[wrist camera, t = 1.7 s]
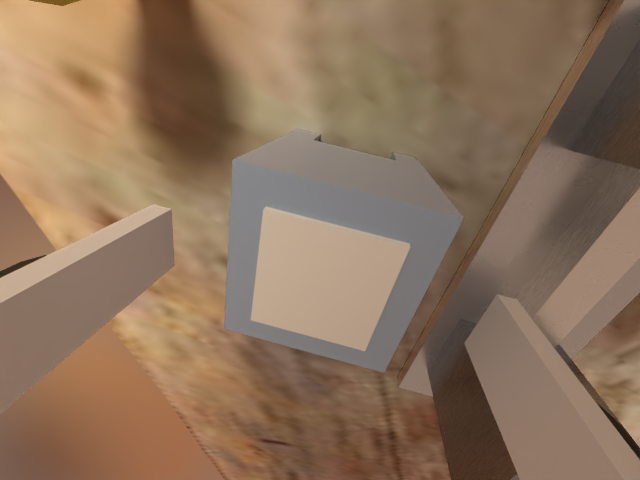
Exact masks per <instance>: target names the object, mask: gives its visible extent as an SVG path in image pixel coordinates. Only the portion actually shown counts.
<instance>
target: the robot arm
mask: <svg viewBox="0 0 640 480" xmlns="http://www.w3.org/2000/svg"><path fill="white" fill-rule="evenodd" d="M173 266H174V248H173V229H172V210H171V209H169V208H166V207H162V206H158V205H154V204H153V205H151V206H149V207H147V208H145V209H142V210H140V211H138V212H136V213H134V214H132V215H130V216H128V217H126V218H124V219H122V220H120V221H118V222H115V223H113V224H111V225H109V226H107V227H105V228H103V229H101V230H99V231H97V232H95V233H93V234H91V235H88V236H86V237H84V238H82V239H80V240H78V241H76V242H74V243H72V244H70V245H68V246H66V247H63V248H61V249H59V250H57V251H55V252H53V253H51V254H49V255H44V256H41V257H37V258H33V259H30V260H26V261H22V262H20V263H18V264H16V265H13V266H11V267H9V268H7V269H5V270H2V271H0V414H1V413H2V412H3V411H4V410H5V409H7V408H8V407H9V406H10V405H11V404H13V403H14V402H15V401H16V400H17V399H18V398H20V397H21V396H22V395H23V394H24V393H25V392H26V391H28V390H29V389H30V388H31V387H32V386H34V385H35V384H36V383H37V382H38V381H39V380H41V379H42V378H43V377H44V376H45V375H46V374H48V373H49V372H50V371H51V370H52V369H54V368H55V367H56V366H57V365H58V364H59V363H61V362H62V361H63V360H64V359H65V358H66V357H68V356H69V355H70V354H71V353H72V352H73V351H75V350H76V349H77V348H78V347H79V346H80V345H82V344H83V343H84V342H85V341H86V340H87V339H89V338H90V337H91V336H92V335H93V334H95V333H96V332H97V331H98V330H99V329H100V328H102V327H103V326H104V325H105V324H106V323H107V322H109V321H110V320H111V319H112V318H113V317H115V316H116V315H117V314H118V313H119V312H120V311H122V310H123V309H124V308H125V307H126V306H127V305H129V304H130V303H131V302H132V301H133V300H134V299H136V298H137V297H138V296H139V295H140V294H141V293H143V292H144V291H145V290H146V289H147V288H149V287H150V286H151V285H152V284H153V283H154V282H156V281H157V280H158V279H159V278H160V277H161V276H163V275H164V274H165V273H166V272H167V271H168V270H170V269H171V268H172V267H173ZM464 344H465V346H466V349H467V351H468V354H469V356H470V359H471V361H472V364H473V366H474V368H475V371H476V373H477V376H478V378H479V381H480V383H481V386H482V388H483V391H484V393H485V395H486V398H487V400H488V403H489V405H490V408H491V410H492V413H493V415H494V418H495V420H496V422H497V425H498V427H499V430H500V432H501V435H502V437H503V440H504V442H505V445H506V447H507V449H508V452H509V454H510V457H511V459H512V462H513V464H514V467H515V469H516V472H517V474H518V476H519V479H520V480H640V448H639V447H638V446H637V444H636V443H635V442H634V440H633V439H632V438H631V437H630V435H629V434H628V433H627V432H626V430H625V429H624V428H623V427H622V425H621V424H619V423H618V422H617V421H616V420H615V419H614V418H613V417H612V416H611V415H610V414H609V413H608V412H607V411H606V410H605V409H604V408H602V407H601V406H600V405H599V404H597V403H596V402H595V401H594V399H593V398H592V397H591V395H590V394H589V393H588V392H587V390H586V389H585V388H584V386H583V385H582V384H581V382H580V381H579V380H578V379H577V377H576V376H575V375H574V373H573V372H572V371H571V369H570V368H569V367H568V365H567V364H566V363H565V362H564V360H563V359H562V358H561V356H560V355H559V354H558V352H557V351H556V350H555V348H554V347H553V346H552V345H551V343H550V342H549V341H548V339H547V338H546V337H545V335H544V334H543V333H542V331H541V330H540V329H539V328H538V326H537V325H536V324H535V322H534V321H533V320H532V318H531V317H530V316H529V315H528V313H527V312H526V311H525V309H524V308H523V307H522V305H521V304H520V303H519V301H518V300H517V299H514V298H510V297H506V296H502V295H498V294H497V295H496V296H495V298H494V299H493V301H492V302H491V304H490V305H489V307H488V308H487V310H486V311H485V313H484V314H483V316H482V317H481V319H480V320H479V322H478V323H477V325H476V326H475V328H474V329H473V331H472V332H471V334H470V335H469V337H468V338H467V340H466V341H465V343H464Z"/></svg>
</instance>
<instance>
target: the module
mask: <svg viewBox="0 0 640 480" xmlns="http://www.w3.org/2000/svg"><path fill="white" fill-rule="evenodd" d="M319 139H320V134H317V133H313V132H309V131H305V130H301V129H296V130H294V131H292V132H290V133H288V134H286V135H283V136H281V137H279V138H277V139H275V140H273V141H271V142H269V143H267V144H265V145H262V146H260V147H258V148H256V149H254V150H252V151H250V152H248V153H246V154H243V155H241V156H239V157H237V158H235V159H233V160H232V180H231V200H230V221H229V242H228V262H227V283H226V303H225V324H224V329H225V330H229V331H233V332H236V333H240V334H244V335H247V336H251V337H255V338H258V339H262V340H265V341H269V342H273V343H276V344H280V345H284V346H287V347H291V348H295V349H298V350H302V351H306V352H309V353H313V354H317V355H320V356H324V357H327V358H331V359H335V360H338V361H342V362H346V363H349V364H353V365H357V366H360V367H364V368H368V369H371V370H375V371H378V372H382V373H384V372H385V370H386V368H387V366H388V364H389V362H390V360H391V358H392V357H393V355H394V353H395V351H396V349H397V347H398V345H399V343H400V341H401V339H402V337H403V335H404V333H405V331H406V329H407V328H408V326H409V324H410V322H411V320H412V318H413V316H414V314H415V312H416V310H417V308H418V306H419V304H420V302H421V300H422V299H423V297H424V295H425V293H426V291H427V289H428V287H429V285H430V283H431V281H432V279H433V277H434V275H435V273H436V271H437V270H438V268H439V266H440V264H441V262H442V260H443V258H444V256H445V254H446V252H447V250H448V248H449V246H450V244H451V242H452V241H453V239H454V237H455V235H456V233H457V231H458V229H459V227H460V225H461V223H462V221H463V219H464V217H463V216H462V215H461V214H460V212H459V211H458V210H457V209H456V207H455V206H454V205H453V204H452V202H451V201H450V200H449V198H448V197H447V196H446V195H445V193H444V192H443V191H442V190H441V188H440V187H439V186H438V185H437V183H436V182H435V181H434V180H433V178H432V177H431V176H430V175H429V173H428V172H427V171H426V170H425V168H424V167H423V166H422V164H421V163H420V162H419V161H418V159H417V158H415V157H411V156H407V155H403V154H398V153H394V152H393V153H392V156H391V159H388V158H384V157H380V156H376V155H372V154H368V153H364V152H360V151H356V150H352V149H348V148H344V147H340V146H336V145H332V144H327V143H323V142H319Z"/></svg>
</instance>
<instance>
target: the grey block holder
mask: <svg viewBox="0 0 640 480" xmlns="http://www.w3.org/2000/svg"><path fill="white" fill-rule="evenodd" d="M639 293H640V0H609V2H608V4H607V5H606V7H605V9H604V11H603V13H602V14H601V16H600V18H599V20H598V21H597V23H596V25H595V27H594V29H593V30H592V32H591V34H590V36H589V37H588V39H587V41H586V43H585V45H584V46H583V48H582V50H581V52H580V53H579V55H578V57H577V59H576V61H575V62H574V64H573V66H572V68H571V69H570V71H569V73H568V75H567V77H566V78H565V80H564V82H563V84H562V85H561V87H560V89H559V91H558V93H557V94H556V96H555V98H554V100H553V101H552V103H551V105H550V107H549V109H548V110H547V112H546V114H545V116H544V117H543V119H542V121H541V123H540V125H539V126H538V128H537V130H536V132H535V133H534V135H533V137H532V139H531V141H530V142H529V144H528V146H527V148H526V149H525V151H524V153H523V155H522V157H521V158H520V160H519V162H518V164H517V165H516V167H515V169H514V171H513V173H512V174H511V176H510V178H509V180H508V181H507V183H506V185H505V187H504V188H503V190H502V192H501V194H500V196H499V197H498V199H497V201H496V203H495V204H494V206H493V208H492V210H491V212H490V213H489V215H488V217H487V219H486V220H485V222H484V224H483V226H482V228H481V229H480V231H479V233H478V235H477V236H476V238H475V240H474V242H473V244H472V245H471V247H470V249H469V251H468V252H467V254H466V256H465V258H464V260H463V261H462V263H461V265H460V267H459V268H458V270H457V272H456V274H455V276H454V277H453V279H452V281H451V283H450V284H449V286H448V288H447V290H446V292H445V293H444V295H443V297H442V299H441V300H440V302H439V304H438V306H437V308H436V309H435V311H434V313H433V315H432V316H431V318H430V320H429V322H428V324H427V325H426V327H425V329H424V331H423V332H422V334H421V336H420V338H419V340H418V341H417V343H416V345H415V347H414V348H413V350H412V352H411V354H410V356H409V357H408V359H407V361H406V363H405V364H404V366H403V368H402V370H401V372H400V373H399V375H398V377H397V380H398V388H402V389H405V390H409V391H413V392H416V393H420V394H423V395H427V396H431V397H433V398H434V403H435V408H436V412H437V417H438V421H439V426H440V430H441V435H442V439H443V444H444V449H445V453H446V458H447V462H448V467H449V471H450V476H451V480H520V479H519V476H518V474H517V472H516V469H515V467H514V464H513V462H512V459H511V457H510V454H509V452H508V449H507V447H506V445H505V442H504V440H503V437H502V435H501V432H500V430H499V427H498V425H497V422H496V420H495V418H494V415H493V413H492V410H491V408H490V405H489V403H488V400H487V398H486V395H485V393H484V391H483V388H482V386H481V383H480V381H479V378H478V376H477V373H476V371H475V368H474V366H473V364H472V361H471V359H470V356H469V354H468V351H467V349H466V346H465V344H464V343H465V341H466V340H467V338H468V337H469V335H470V334H471V332H472V331H473V329H474V328H475V326H476V325H477V323H478V322H479V320H480V319H481V317H482V316H483V314H484V313H485V311H486V310H487V308H488V307H489V305H490V304H491V302H492V301H493V299H494V298H495V296H496V295H497V294H498V295H502V296H506V297H510V298H514V299H517V300H518V301H519V303H520V304H521V305H522V307H523V308H524V309H525V311H526V312H527V313H528V315H529V316H530V317H531V318H532V320H533V321H534V322H535V324H536V325H537V326H538V328H539V329H540V330H541V331H542V333H543V334H544V335H545V337H546V338H547V339H548V341H549V342H550V343H551V345H552V346H553V347H554V348H555V350H556V351H557V352H558V354H559V355H560V356H561V358H562V359H563V360H564V362H565V363H566V364H567V365H568V367H569V368H570V369H571V371H572V372H573V373H574V375H575V376H576V377H577V379H578V380H579V381H580V382H581V384H582V385H583V386H584V388H585V389H586V390H587V392H588V393H589V394H590V395H591V397H592V398H593V399H594V401H595V402H596V403H597V404H599V405H600V406H601V407H602V408H604V409H605V410H606V411H607V412H608V413H609V414H610V415H611V416H612V417H613V418H614V419H615V420H616V421H617V422H618V423H619V424H621V423H620V422H619V420H618V419H617V418H616V417H615V415H614V414H613V413H612V411H611V410H610V409H609V408H608V406H607V405H606V404H605V402H604V401H603V400H602V398H601V397H600V396H599V395H598V393H597V392H596V391H595V389H594V388H593V387H592V386H591V384H590V383H589V382H588V380H587V379H586V378H585V377H584V375H583V374H582V373H581V371H580V370H579V369H578V367H577V366H576V365H575V364H574V362H573V361H572V360H571V359H572V358H574V357H575V356H576V355H577V354H578V353H579V352H580V351H581V350H582V349H583V348H584V347H585V346H586V345H587V344H588V343H589V342H590V341H591V340H592V339H593V338H594V337H595V336H596V335H597V334H598V333H599V332H600V331H601V330H602V329H603V328H604V327H605V326H606V325H607V324H608V323H609V322H610V321H611V320H612V319H613V318H614V317H615V316H616V315H617V314H618V313H619V312H620V311H621V310H623V309H624V308H625V307H626V306H627V305H628V304H629V303H630V302H631V301H632V300H633V299H634V298H635V297H636V296H637V295H638V294H639ZM621 425H622V424H621ZM622 427H623V426H622ZM623 428H624V427H623ZM624 429H625V428H624ZM625 430H626V429H625ZM626 432H627V431H626ZM627 433H628V432H627ZM628 434H629V433H628ZM630 437H631V436H630ZM631 438H632V437H631ZM634 442H635V441H634ZM635 443H636V442H635ZM637 446H638V445H637ZM638 447H639V446H638Z"/></svg>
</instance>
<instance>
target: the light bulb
mask: <svg viewBox="0 0 640 480" xmlns="http://www.w3.org/2000/svg"><path fill="white" fill-rule="evenodd" d="M31 1H36V2H42V3H48V4H54V5H60V6H64V5H67V4H70V3H73V2H76V1H80V0H31Z"/></svg>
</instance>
